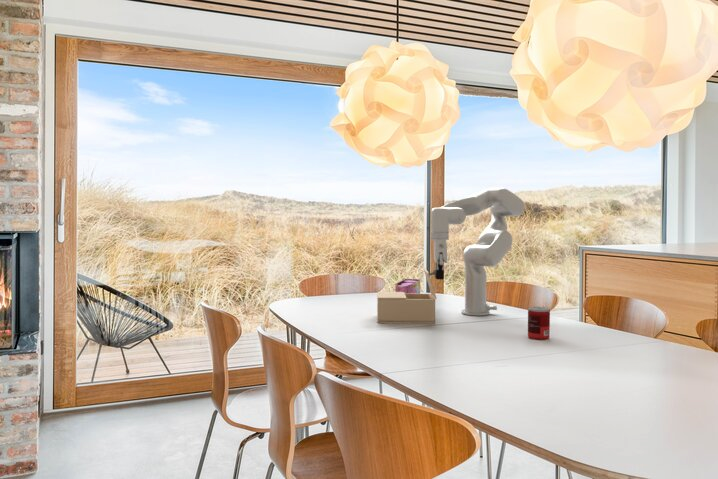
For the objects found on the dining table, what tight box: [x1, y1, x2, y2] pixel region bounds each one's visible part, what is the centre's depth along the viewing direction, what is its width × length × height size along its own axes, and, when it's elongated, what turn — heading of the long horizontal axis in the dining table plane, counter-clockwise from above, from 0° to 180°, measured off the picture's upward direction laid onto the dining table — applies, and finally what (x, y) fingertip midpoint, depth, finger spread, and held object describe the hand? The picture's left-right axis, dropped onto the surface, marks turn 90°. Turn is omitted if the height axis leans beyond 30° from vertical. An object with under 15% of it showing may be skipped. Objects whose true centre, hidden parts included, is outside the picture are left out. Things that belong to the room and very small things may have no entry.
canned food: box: [527, 306, 551, 341], centre depth 209 cm, size 8×8×11 cm
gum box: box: [394, 278, 421, 294], centre depth 270 cm, size 24×8×14 cm, turn 163°
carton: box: [376, 291, 436, 324], centre depth 246 cm, size 24×18×11 cm
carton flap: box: [423, 267, 437, 300], centre depth 245 cm, size 12×17×6 cm
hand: (439, 278), depth 245 cm, fingers open, 3 cm apart
